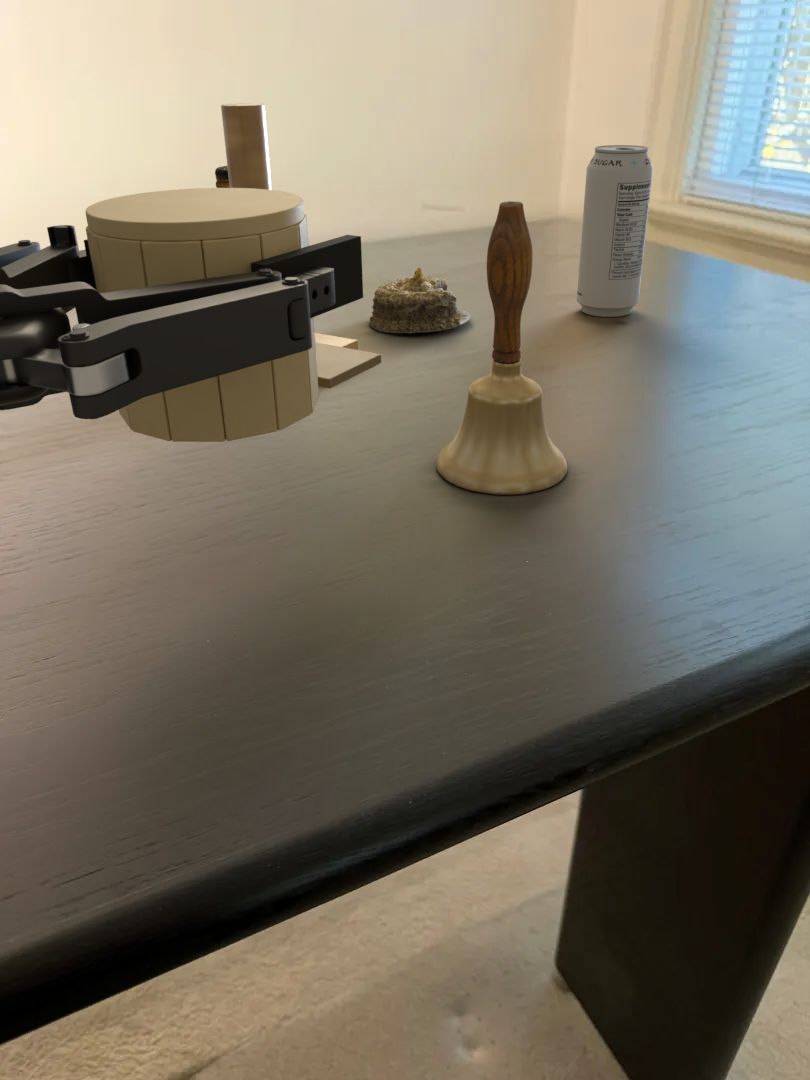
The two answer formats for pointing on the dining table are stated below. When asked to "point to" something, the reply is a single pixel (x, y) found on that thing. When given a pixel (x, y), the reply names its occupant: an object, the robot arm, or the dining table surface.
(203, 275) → the slatted wooden barrel
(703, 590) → the dining table surface
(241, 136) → the hat stand
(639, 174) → the energy drink can
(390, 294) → the cake
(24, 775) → the dining table surface
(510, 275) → the hand bell
